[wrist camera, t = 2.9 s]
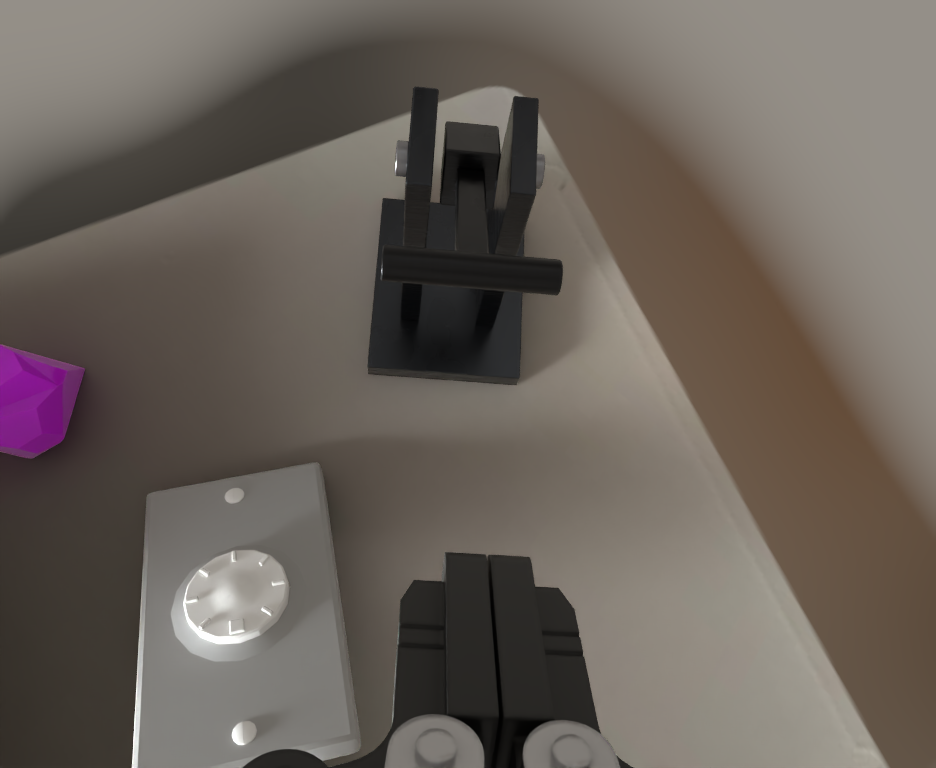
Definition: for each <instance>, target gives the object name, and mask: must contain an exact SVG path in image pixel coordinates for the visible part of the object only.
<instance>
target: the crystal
mask: <svg viewBox="0 0 936 768" xmlns="http://www.w3.org/2000/svg"><path fill="white" fill-rule="evenodd" d="M84 371H85V368H82V367H79V366H75V365H72V364H68V363H65V362H61V361H58V360H54V359H51V358H47V357H44V356H40V355H37V354H33V353H30V352H26V351H23V350H19V349H16V348H12V347H9V346H5V345H2V344H0V452H3V453H7V454H11V455H16V456H20V457H24V458H35V457H36V456H38V455H40V454H42V453H43V452H45V451H47V450H48V449H50V448H52V447H54V446H55V445H57V444H59V443H60V442H61V441H62V440H63V439H64V438H65V435H66V431H67V428H68V425H69V421H70V418H71V414H72V411H73V408H74V404H75V401H76V398H77V394H78V391H79V388H80V384H81V381H82V378H83V374H84Z"/></svg>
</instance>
